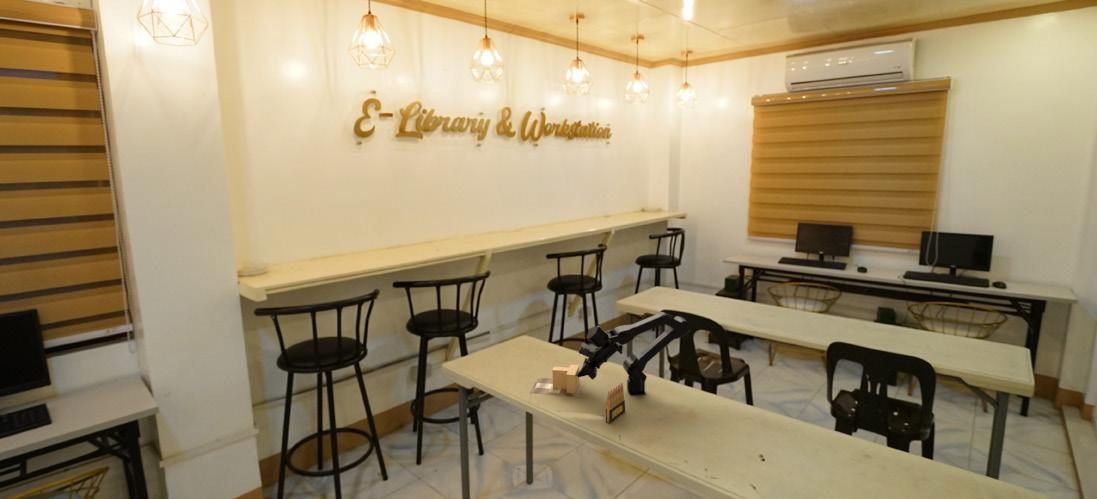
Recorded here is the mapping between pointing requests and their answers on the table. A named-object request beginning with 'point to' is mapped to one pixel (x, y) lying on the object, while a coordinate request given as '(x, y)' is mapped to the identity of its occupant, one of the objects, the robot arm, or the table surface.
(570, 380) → the t block
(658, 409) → the table surface
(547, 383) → the board
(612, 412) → the ammunition clip
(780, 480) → the table surface
